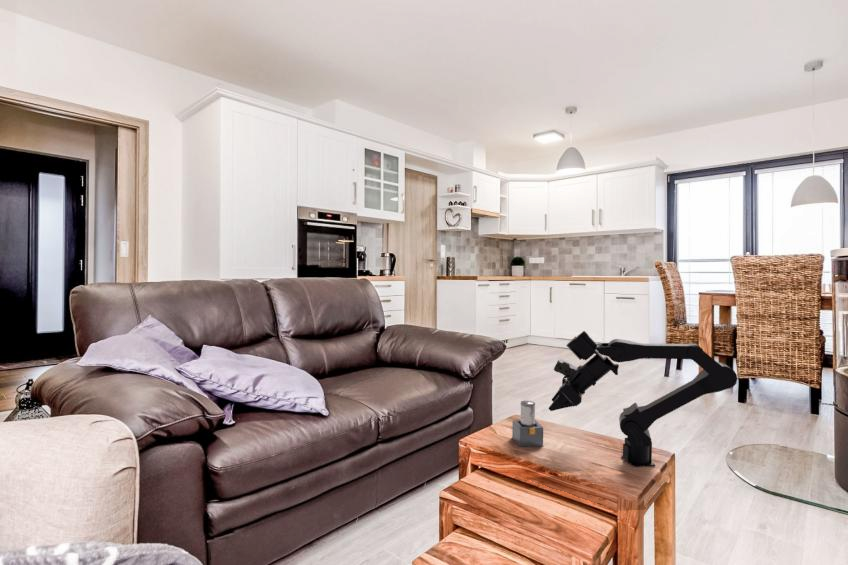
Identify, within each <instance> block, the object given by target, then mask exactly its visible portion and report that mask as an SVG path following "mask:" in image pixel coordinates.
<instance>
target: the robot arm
mask: <svg viewBox="0 0 848 565" xmlns="http://www.w3.org/2000/svg"><path fill="white" fill-rule="evenodd" d="M566 347H567V348H568V349H569V351H571V352H572V353H573V354H574V356H576V358H578V360H579V361H581V360H583V361H586V363H584V364H583V365H581V364H580V365H579V366H575V365H573V364H572V363H569V362H568V361H565V360H564V359H563V358H558V360H557V362H556V364H555V366H554V368H553V371H555V373H559V374H561V375H563V377H562V380H561V382H562V383H561V386H560V387H559V388H558V390H557V392H556V393H555V394H554V395H553V396H552V398H551V401H552V403H551V404H550V406H549V407H548V410H549V411H550V412H553V411H557V410H562V409H566V408H572V407H577V406H579V405H580V404H581V403H582V400H583V399H582V398H583V395H585V393H586V391H587V390H589V389H590V388H591V387H592V386H593V387H594V386H596V384H597V382H598V381H599V380H601V379H602V378H603V377H604V376H606V374H608V373H609V372H612V373H613V374H614V375H615V376H618V375H619V368H620V367H619V366H620V365H619V363H624V362H632V361H637V360H640V359H641V360H643V359H656V360H657V359H660V360H661V359H662V360H663V359H665V360H672V359H673V360H692V361H693V362H694V363H695V364H696V365H698V366H699V367H700V368H702V370H701V371H700V372H698V374H697V375H696V376H695V377H694V378H693V379H692V380H690V381H688V382H687V383H685V384H683V385H681V386H680V387H677V388H676V389H674V390H672V391H670V392H668V393H666V394H665V395H662V396H661V397H659V398H657V399H655V400H654V401H651V402H650V403H648V404H647V405H642V406H641V405H640V406H639V405H638V403H637V402H634V403H632V404H631V405H630V406H628V407H626V408H625V407H624V408H623V409H622V410H623V411H622V412H621V413H620V414H619V417H618V420H619V428H620V431H621V433H622V434H624V435H625V436H626V437H624V443H623V444H622V455H620V457H621V458H622V460H624V461H625V462H627V463H628V464H629V465H630V466H632V467H634V468H636V467H638V468H639V467H655V466H656V464H655V462H653V461H652V459H653V458H652V457H653V455H652V454H653V441H652V437H651V433H650V430H649V428H650V427H651V426H652V425H653V424H654V422H656V421H657V420H659V419H661V418H663V417H664V416H666V415H668V414H670V413H672V412H674V411H676V410H678V409H680V408H682V407H683V406H685V405H687V404H689V403H690V402H691V403H692V402H693V401H695V400H697V399H698V398H700V397H702V396H705V395H708V394H714V393H718V392H719V393H720V392H723V391H726V390H729V389H732V388H733V387H734V386H736V385H737V380H738V375H737V372H736V371H735V370H734V369H733V368H731V367H730V366H729V365H727V364H726V363H724V362H720V361H717V360H715V359H714V358H713V357H712V356H710V355H709V354H708V353H707V352H706V351H704V350H703V348H702V347H701V346H700V345H698V344H696V343H694V342H693V343H692V342H691V343H641V342H636V341H631V340H626V339H620V338H615V339H611V340H610V341H609V342H601V343H599V342H598V343H596V342H595V341H594V340H593V339H592V337H590V335H589V334H588V333H587V332H586V331H585V330H583V331H582V332H581V333H579V334H578V335H577V336H575V337H573V338H572V339H571V340H569V342H567V344H566ZM592 356H593V357H592ZM591 357H592V358H591ZM588 359H589V360H588ZM587 360H588V361H587ZM615 362H616V363H615Z"/></svg>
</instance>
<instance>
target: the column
mask: <svg viewBox="0 0 848 565" xmlns="http://www.w3.org/2000/svg"><path fill="white" fill-rule="evenodd" d="M520 420H521V426H522V427H535V420H536V402H534V401H532V400H522V401H520Z"/></svg>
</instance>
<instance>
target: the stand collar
mask: <svg viewBox="0 0 848 565" xmlns="http://www.w3.org/2000/svg"><path fill="white" fill-rule="evenodd" d="M511 427H512V428H511V429H512V431H511V432H512V433H511V434H512V437H511V439H512V440H513V442H514V443H515V444H516V445H517V447H518V448H528V447H529V448H535V447H537V448H539V447H540V448H541V447H544V426H542V424H540V423H539V422H538V421H537V420H536V419H535V427H522V426H521V419H512V426H511Z"/></svg>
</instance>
